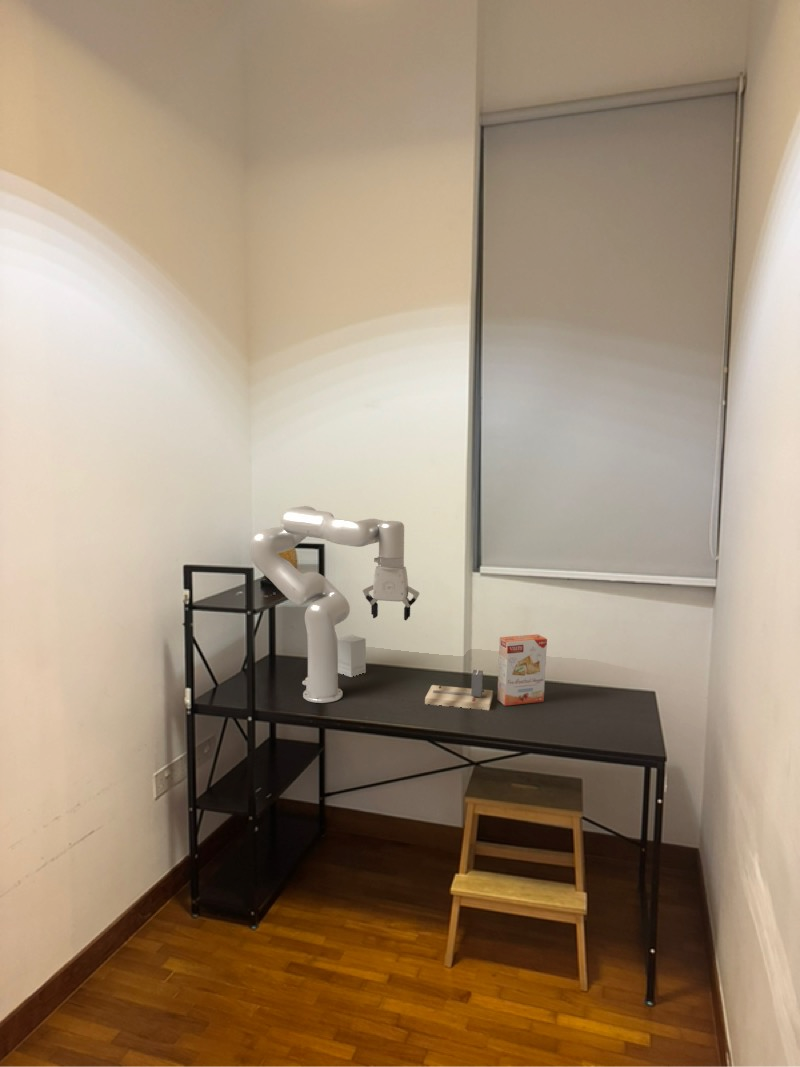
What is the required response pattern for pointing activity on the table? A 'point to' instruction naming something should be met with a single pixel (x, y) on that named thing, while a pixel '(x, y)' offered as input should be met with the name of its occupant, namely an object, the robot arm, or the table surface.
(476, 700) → the board
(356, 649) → the supplement box
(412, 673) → the table surface
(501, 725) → the table surface
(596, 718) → the table surface
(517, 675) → the cracker box
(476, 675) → the fader tab
